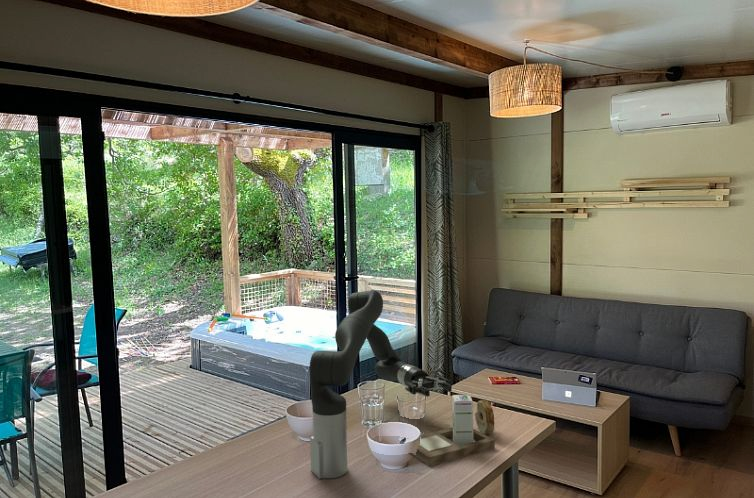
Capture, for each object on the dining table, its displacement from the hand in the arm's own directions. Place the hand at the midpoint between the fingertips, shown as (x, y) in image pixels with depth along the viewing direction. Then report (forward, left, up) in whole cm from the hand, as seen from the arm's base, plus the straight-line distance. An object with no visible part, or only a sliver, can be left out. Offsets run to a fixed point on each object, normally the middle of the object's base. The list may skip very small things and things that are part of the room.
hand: (439, 391), depth 182 cm
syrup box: (0, -12, -13) cm, 18 cm away
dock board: (-6, -12, -13) cm, 19 cm away
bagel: (+12, -8, -13) cm, 19 cm away
